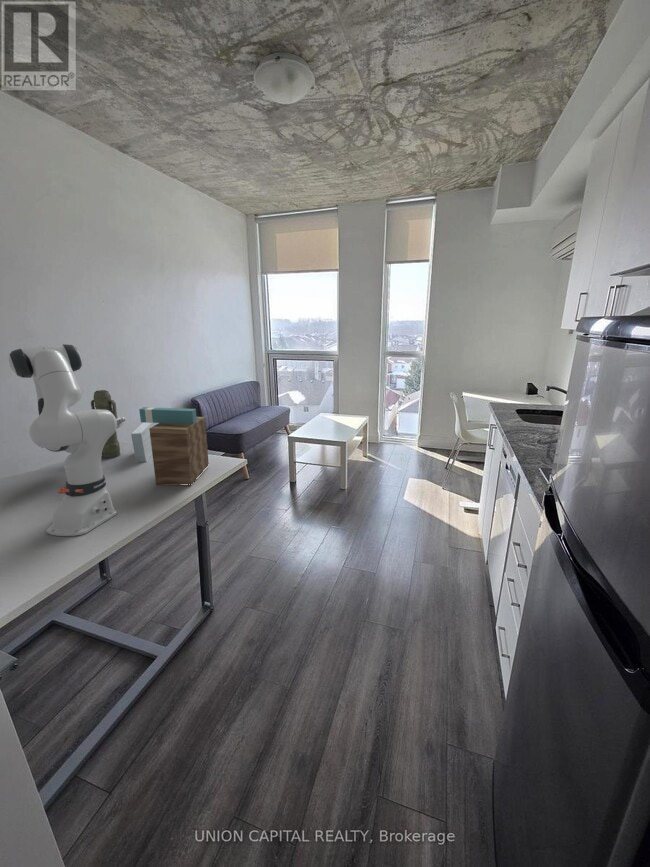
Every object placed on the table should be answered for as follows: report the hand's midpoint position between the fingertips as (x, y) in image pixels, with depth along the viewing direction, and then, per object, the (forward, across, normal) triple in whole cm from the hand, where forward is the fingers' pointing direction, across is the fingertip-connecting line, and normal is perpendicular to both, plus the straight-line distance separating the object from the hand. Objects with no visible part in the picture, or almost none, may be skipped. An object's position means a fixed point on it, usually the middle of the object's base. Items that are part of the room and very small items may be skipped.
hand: (118, 422), depth 165 cm
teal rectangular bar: (+22, 0, +10) cm, 24 cm away
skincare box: (-14, +24, +22) cm, 35 cm away
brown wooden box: (+14, 0, +35) cm, 38 cm away
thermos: (-30, +21, +14) cm, 40 cm away
